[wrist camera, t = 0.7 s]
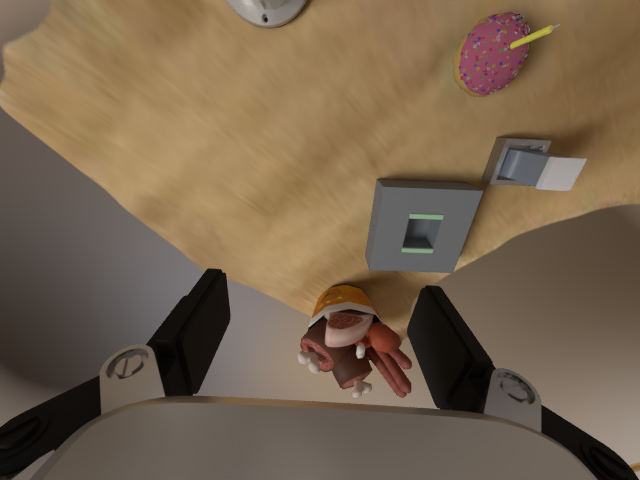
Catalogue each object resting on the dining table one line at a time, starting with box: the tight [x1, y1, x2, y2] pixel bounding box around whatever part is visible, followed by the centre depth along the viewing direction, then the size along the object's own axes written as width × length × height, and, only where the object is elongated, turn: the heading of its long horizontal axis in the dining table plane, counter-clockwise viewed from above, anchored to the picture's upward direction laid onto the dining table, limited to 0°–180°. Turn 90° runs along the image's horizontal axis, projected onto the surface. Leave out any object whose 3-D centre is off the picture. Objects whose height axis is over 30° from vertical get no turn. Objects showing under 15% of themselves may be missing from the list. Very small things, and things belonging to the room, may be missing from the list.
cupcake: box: [453, 12, 561, 97], centre depth 29 cm, size 9×8×12 cm
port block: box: [365, 179, 483, 273], centre depth 44 cm, size 16×16×5 cm
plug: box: [499, 148, 587, 191], centre depth 36 cm, size 4×4×10 cm
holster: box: [481, 137, 552, 186], centre depth 40 cm, size 7×7×2 cm
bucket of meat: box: [297, 285, 412, 398], centre depth 47 cm, size 20×16×20 cm
